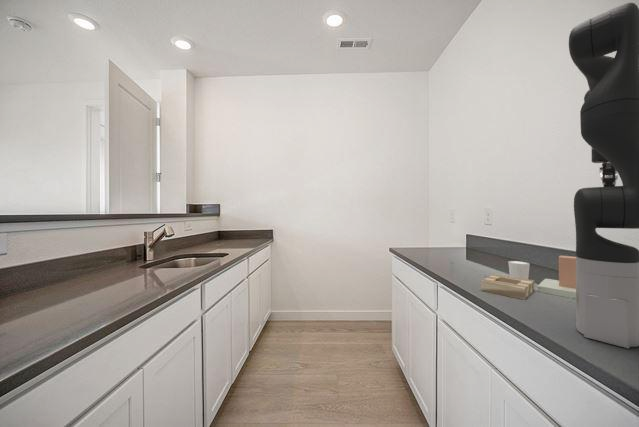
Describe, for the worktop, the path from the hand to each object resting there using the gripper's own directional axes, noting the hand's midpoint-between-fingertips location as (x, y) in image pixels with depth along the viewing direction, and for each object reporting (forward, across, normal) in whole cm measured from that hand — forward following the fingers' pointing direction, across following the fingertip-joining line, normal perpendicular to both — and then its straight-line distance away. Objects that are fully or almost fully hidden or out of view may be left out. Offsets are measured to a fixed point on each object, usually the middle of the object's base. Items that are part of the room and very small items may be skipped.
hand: (609, 196), depth 78 cm
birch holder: (+32, +16, -23) cm, 43 cm away
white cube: (+32, -4, -24) cm, 40 cm away
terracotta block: (+30, +3, -9) cm, 32 cm away
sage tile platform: (+32, +3, -9) cm, 33 cm away
